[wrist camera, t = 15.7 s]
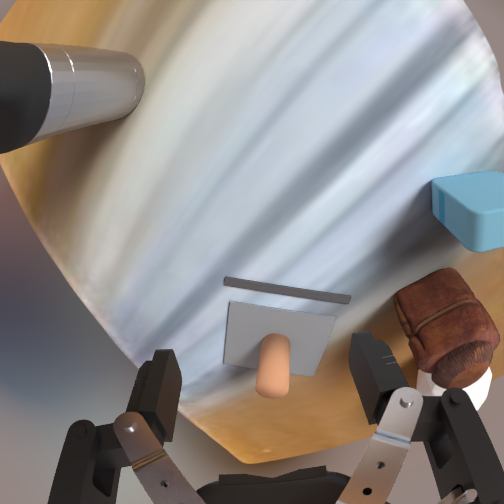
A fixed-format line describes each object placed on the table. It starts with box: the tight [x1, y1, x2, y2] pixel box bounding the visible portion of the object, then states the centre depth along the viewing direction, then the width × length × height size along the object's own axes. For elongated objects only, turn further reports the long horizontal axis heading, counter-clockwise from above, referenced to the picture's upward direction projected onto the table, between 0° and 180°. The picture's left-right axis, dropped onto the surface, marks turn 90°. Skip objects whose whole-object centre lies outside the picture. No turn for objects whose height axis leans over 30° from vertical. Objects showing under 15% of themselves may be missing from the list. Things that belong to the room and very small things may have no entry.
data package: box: [431, 171, 504, 252], centre depth 28 cm, size 12×4×12 cm, turn 104°
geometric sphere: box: [416, 367, 492, 411], centre depth 41 cm, size 14×15×15 cm
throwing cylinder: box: [255, 334, 291, 398], centre depth 44 cm, size 5×5×9 cm
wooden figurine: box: [394, 268, 500, 389], centre depth 33 cm, size 12×6×18 cm, turn 122°
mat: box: [224, 277, 351, 376], centre depth 47 cm, size 18×18×1 cm
